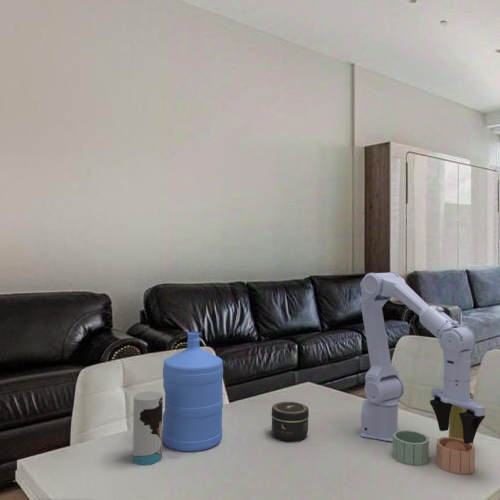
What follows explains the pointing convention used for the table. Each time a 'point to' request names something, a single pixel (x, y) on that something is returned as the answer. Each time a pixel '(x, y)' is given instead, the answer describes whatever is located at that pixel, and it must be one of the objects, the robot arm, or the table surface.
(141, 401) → the white printed cylinder
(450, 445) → the ball
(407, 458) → the green faceted bowl
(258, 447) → the table surface
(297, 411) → the jar
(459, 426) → the vase
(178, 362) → the water jug
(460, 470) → the salmon slatted bowl
